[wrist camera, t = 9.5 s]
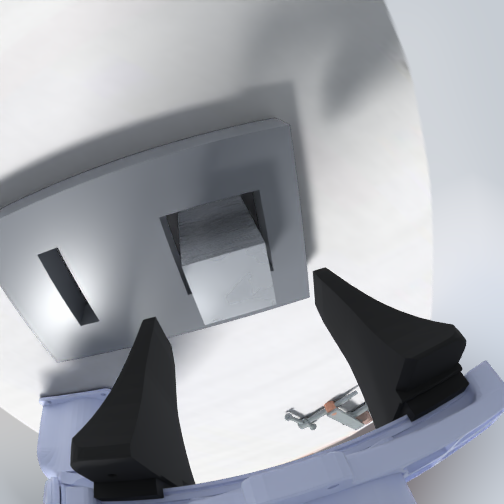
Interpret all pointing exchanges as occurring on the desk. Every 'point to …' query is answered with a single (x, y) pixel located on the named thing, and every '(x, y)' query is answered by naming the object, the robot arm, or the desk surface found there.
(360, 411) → the clamp
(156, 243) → the plate
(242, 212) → the square bit
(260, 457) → the desk surface
